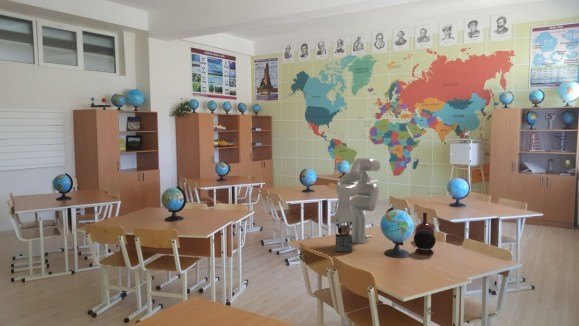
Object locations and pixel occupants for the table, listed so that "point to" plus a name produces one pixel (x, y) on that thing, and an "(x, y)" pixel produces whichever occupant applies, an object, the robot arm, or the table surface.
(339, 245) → the small box
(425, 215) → the round-bottom flask
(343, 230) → the walnut cube
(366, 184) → the robot arm
